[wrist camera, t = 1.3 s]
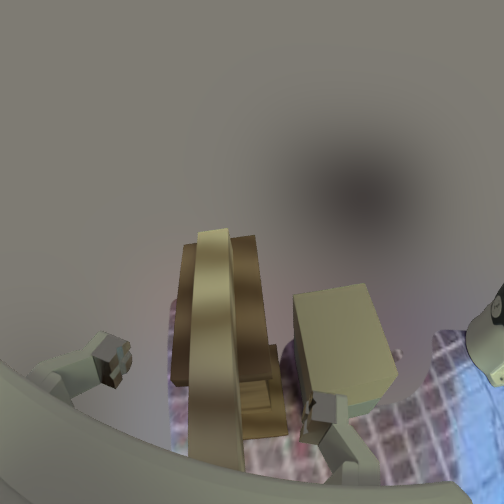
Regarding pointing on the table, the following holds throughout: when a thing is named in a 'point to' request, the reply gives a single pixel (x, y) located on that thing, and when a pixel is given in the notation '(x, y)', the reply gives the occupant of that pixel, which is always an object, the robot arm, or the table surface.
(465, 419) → the table surface
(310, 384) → the tower top block
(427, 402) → the table surface
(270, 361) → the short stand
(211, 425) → the batten
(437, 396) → the table surface
